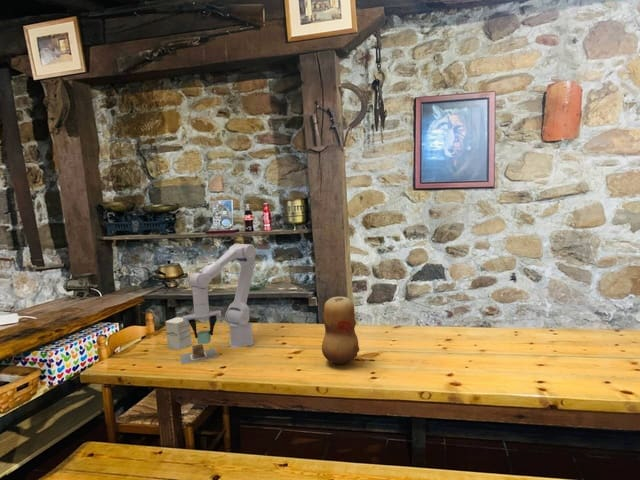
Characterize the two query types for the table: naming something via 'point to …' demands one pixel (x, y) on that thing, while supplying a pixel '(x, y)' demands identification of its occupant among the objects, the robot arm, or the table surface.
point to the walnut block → (198, 351)
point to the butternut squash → (339, 331)
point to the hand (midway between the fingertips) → (203, 336)
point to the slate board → (189, 358)
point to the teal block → (204, 337)
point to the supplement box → (178, 333)
